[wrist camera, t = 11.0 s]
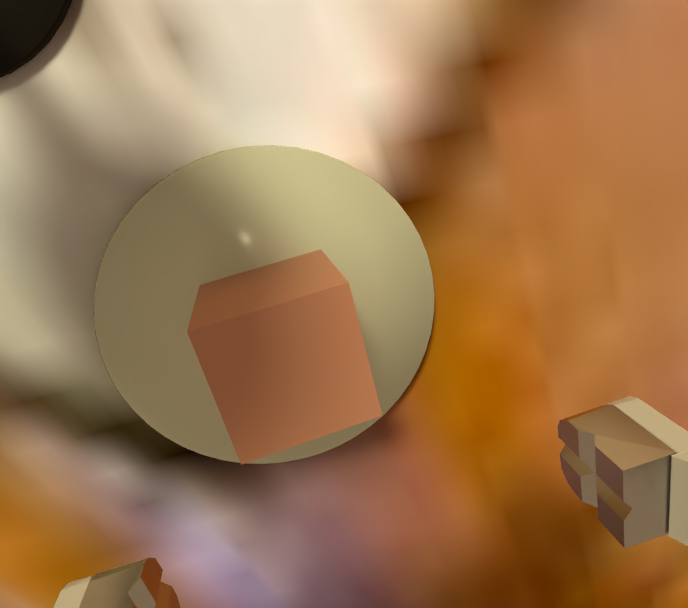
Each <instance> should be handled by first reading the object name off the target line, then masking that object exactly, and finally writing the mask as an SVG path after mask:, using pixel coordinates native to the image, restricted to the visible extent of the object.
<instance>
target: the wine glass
mask: <svg viewBox="0 0 688 608" xmlns="http://www.w3.org/2000/svg"><path fill="white" fill-rule="evenodd" d="M71 1H72V0H0V78H1V77H3V76H5V75H7V74H10V73H12V72H13V71H15V70H16V69H18V68H19V67H21V66H22V65H24V64H25V63H27V62H28V61H30V60H31V59H33V58H34V57H35V56H36V55H37V54H38V53H39V52H40V51H41V50H42V49H43V48H44V47H45V46H46V45H47V44H48V43H49V42H50V40H51V39H52V37H53V36H54V34H55V33H56V31H57V30H58V28H59V27H60V25H61V24H62V22H63V20H64V18H65V15H66V13H67V11H68V8H69V6H70V4H71Z"/></svg>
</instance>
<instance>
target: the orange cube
mask: <svg viewBox="0 0 688 608" xmlns="http://www.w3.org/2000/svg"><path fill="white" fill-rule="evenodd" d="M187 333H188V336H189V338H190V341H191V343H192V345H193V348H194V350H195V353H196V355H197V358H198V360H199V363H200V365H201V368H202V370H203V372H204V375H205V377H206V380H207V382H208V385H209V387H210V390H211V392H212V394H213V397H214V399H215V402H216V404H217V407H218V409H219V412H220V414H221V417H222V419H223V421H224V424H225V426H226V429H227V431H228V434H229V436H230V439H231V441H232V443H233V446H234V448H235V451H236V453H237V456H238V458H239V461H240V463H241V465H242V464H245V463H248V462H250V461H253V460H256V459H259V458H262V457H265V456H268V455H271V454H273V453H276V452H279V451H282V450H285V449H288V448H291V447H294V446H296V445H299V444H302V443H305V442H308V441H311V440H314V439H317V438H319V437H322V436H325V435H328V434H331V433H334V432H337V431H340V430H342V429H345V428H348V427H351V426H354V425H357V424H360V423H363V422H365V421H368V420H371V419H374V418H377V417H380V416H382V412H381V408H380V404H379V400H378V396H377V392H376V388H375V384H374V380H373V376H372V372H371V368H370V364H369V360H368V356H367V352H366V348H365V344H364V340H363V336H362V332H361V328H360V325H359V321H358V317H357V313H356V309H355V305H354V301H353V297H352V293H351V289H350V285H349V282H348V281H347V279H346V278H345V277H344V276H343V275H342V274H341V272H340V271H339V270H338V269H337V268H336V266H335V265H334V264H333V263H332V262H331V260H330V259H329V258H328V257H327V256H326V254H325V253H324V252H323V251H322V250H321V249H320V250H317V251H313V252H310V253H306V254H303V255H300V256H296V257H293V258H289V259H286V260H283V261H279V262H276V263H273V264H269V265H266V266H262V267H259V268H256V269H252V270H249V271H245V272H242V273H239V274H235V275H232V276H229V277H225V278H222V279H218V280H215V281H212V282H208V283H205V284H202V285H200V286H199V289H198V293H197V297H196V300H195V304H194V308H193V312H192V315H191V319H190V323H189V326H188V330H187Z"/></svg>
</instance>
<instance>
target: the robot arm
mask: <svg viewBox="0 0 688 608" xmlns="http://www.w3.org/2000/svg"><path fill="white" fill-rule="evenodd" d="M558 437H559V438H560V439H561V440H562V441H563V442H564V443H565V446H564V448H563V450H562V451H561V453H560V460H561V468H562V470H563V473H564V475H565V478H566V480H567V482H568V484H569V485H570V487H571V488H572V490H573V491H574V493H575V494H576V495H577V496H578V497H579V498H580V499H581V501H582V502H585V503H587V504H590V505H592V506H595V507H597V508H598V520H599V521H600V522H601V523H602V524H603V525H604V526H605V527H606V528H607V529H608V531H609V532H610V533H611V534H612V535H613V536H614V537H615V538H616V539H617V540H618V542H619V543H620V544H621V545H622V546H623V547H624V548H626V547H629V546H632V545H636V544H639V543H642V542H645V541H648V540H651V539H654V538H657V537H660V536H663V535H666V534H669V537H671V538H673V539H675V540H677V541H679V542H681V543H683V544H685V545H687V546H688V432H687V431H686V430H684V429H683V428H681V427H680V426H678V425H677V424H675V423H674V422H673V421H671V420H670V419H668V418H667V417H665V416H664V415H662V414H661V413H659V412H658V411H656V410H655V409H653V408H652V407H650V406H649V405H647V404H646V403H644V402H643V401H641V400H640V399H638V398H636V397H632V396H628V397H625V398H622V399H619V400H616V401H613V402H611V403H608V404H606V405H603V406H600V407H597V408H594V409H591V410H588V411H585V412H582V413H579V414H576V415H574V416H571V417H568V418H565V419H562V420H560V421H559V424H558ZM162 571H163V570H162V568H161V567H160V565H159V563H158V562H157V560H156V559H155V558H146V559H143V560H140V561H136V562H133V563H130V564H127V565H123V566H120V567H117V568H114V569H110V570H107V571H104V572H100V573H97V574H96V575H93V576H90V577H87V578H83V579H80V580H76V581H73V582H70V583H68V584H67V585H66V586H65V587H64V588H63V589H62V590H61V592H60V594H59V596H58V599H57V601H56V603H55V605H54V608H180V605H179V601H178V598H177V595H176V593H175V591H174V589H173V587H172V586H170V585H167V584H165V583H163V582H160V581H161V576H162Z"/></svg>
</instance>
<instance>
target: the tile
mask: <svg viewBox="0 0 688 608" xmlns="http://www.w3.org/2000/svg"><path fill="white" fill-rule="evenodd" d="M320 249H321V250H322V251H323V252H324V253H325V254H326V256H327V257H328V258H329V259H330V260H331V262H332V263H333V264H334V265H335V266H336V268H337V269H338V270H339V271H340V272H341V274H342V275H343V276H344V277H345V278H346V279H347V281H348V282H349V285H350V289H351V293H352V297H353V301H354V305H355V309H356V313H357V317H358V321H359V325H360V328H361V332H362V336H363V340H364V344H365V348H366V352H367V356H368V360H369V364H370V368H371V372H372V376H373V380H374V384H375V388H376V392H377V396H378V400H379V404H380V408H381V412H382V416H383V415H384V414H385V413H386V412H387V411H388V410H389V409H390V408H391V407H392V406H393V405H394V403H395V402H396V401H397V400H398V399H399V398H400V396H401V395H402V394H403V392H404V391H405V389H406V388H407V387H408V385H409V384H410V382H411V380H412V379H413V377H414V375H415V373H416V372H417V370H418V368H419V366H420V363H421V361H422V359H423V356H424V354H425V351H426V349H427V345H428V341H429V338H430V334H431V330H432V323H433V316H434V286H433V277H432V271H431V267H430V263H429V259H428V255H427V253H426V250H425V248H424V245H423V243H422V240H421V238H420V235H419V234H418V232H417V230H416V228H415V227H414V225H413V223H412V221H411V220H410V218H409V217H408V215H407V214H406V213H405V211H404V210H403V209H402V208H401V206H400V205H399V204H398V202H397V201H396V200H395V199H394V198H393V197H392V196H391V195H390V194H389V193H388V192H387V191H386V190H385V189H384V188H383V187H382V186H381V185H379V184H378V183H377V182H375V181H374V180H372V179H371V178H370V177H368V176H367V175H366V174H364V173H363V172H361V171H359V170H358V169H356V168H354V167H352V166H350V165H348V164H347V163H345V162H343V161H340V160H338V159H335V158H332V157H330V156H327V155H324V154H322V153H318V152H314V151H310V150H305V149H301V148H296V147H284V146H273V145H271V146H251V147H243V148H238V149H232V150H227V151H222V152H219V153H216V154H213V155H210V156H207V157H204V158H201V159H198V160H196V161H194V162H192V163H190V164H188V165H186V166H184V167H182V168H180V169H178V170H176V171H175V172H173V173H172V174H170V175H169V176H167V177H166V178H165V179H163V180H162V181H160V182H159V183H157V184H156V185H154V186H153V187H152V188H151V189H150V190H149V191H148V192H147V193H146V194H145V195H144V196H143V197H142V198H141V199H140V200H138V201H137V202H136V204H135V205H134V206H133V207H132V209H131V210H130V211H129V212H128V214H127V215H126V216H125V217H124V219H123V220H122V221H121V223H120V224H119V226H118V228H117V229H116V231H115V233H114V235H113V236H112V238H111V240H110V242H109V244H108V246H107V249H106V251H105V254H104V256H103V259H102V262H101V264H100V268H99V272H98V277H97V281H96V286H95V296H94V322H95V333H96V337H97V341H98V345H99V350H100V354H101V357H102V359H103V361H104V364H105V366H106V369H107V371H108V374H109V376H110V377H111V379H112V381H113V383H114V384H115V386H116V388H117V389H118V391H119V393H120V394H121V395H122V397H123V398H124V399H125V400H126V402H127V403H128V404H129V406H130V407H131V408H132V409H133V410H134V411H135V412H136V413H137V414H138V415H139V416H140V417H141V418H142V419H143V420H144V421H145V422H146V423H147V424H148V425H150V426H151V427H152V428H154V429H155V430H156V431H158V432H159V433H160V434H162V435H163V436H165V437H166V438H168V439H170V440H172V441H173V442H175V443H177V444H179V445H181V446H182V447H185V448H187V449H189V450H192V451H194V452H197V453H199V454H202V455H205V456H209V457H213V458H216V459H220V460H225V461H231V462H238V463H240V461H239V458H238V456H237V453H236V451H235V448H234V446H233V443H232V441H231V439H230V436H229V434H228V431H227V429H226V426H225V424H224V421H223V419H222V417H221V414H220V412H219V409H218V407H217V404H216V402H215V399H214V397H213V394H212V392H211V390H210V387H209V385H208V382H207V380H206V377H205V375H204V372H203V370H202V368H201V365H200V363H199V360H198V358H197V355H196V353H195V350H194V348H193V345H192V343H191V341H190V338H189V336H188V333H187V330H188V326H189V323H190V319H191V315H192V312H193V308H194V304H195V300H196V297H197V293H198V289H199V286H200V285H202V284H205V283H208V282H212V281H215V280H218V279H222V278H225V277H229V276H232V275H235V274H239V273H242V272H245V271H249V270H252V269H256V268H259V267H262V266H266V265H269V264H273V263H276V262H279V261H283V260H286V259H289V258H293V257H296V256H300V255H303V254H306V253H310V252H313V251H317V250H320ZM382 416H380V417H377V418H374V419H371V420H368V421H365V422H363V423H360V424H357V425H354V426H351V427H348V428H345V429H342V430H340V431H337V432H334V433H331V434H328V435H325V436H322V437H319V438H317V439H314V440H311V441H308V442H305V443H302V444H299V445H296V446H294V447H291V448H288V449H285V450H282V451H279V452H276V453H273V454H271V455H268V456H265V457H262V458H259V459H256V460H253V461H250V462H248V463H251V464H268V463H282V462H288V461H293V460H299V459H303V458H307V457H310V456H314V455H317V454H320V453H323V452H325V451H328V450H330V449H332V448H335V447H337V446H339V445H341V444H343V443H345V442H347V441H349V440H350V439H352V438H354V437H356V436H357V435H359V434H360V433H362V432H363V431H364V430H366V429H367V428H369V427H370V426H371V425H373V424H374V423H375V422H376V421H377V420H378V419H380V418H381V417H382Z"/></svg>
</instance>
